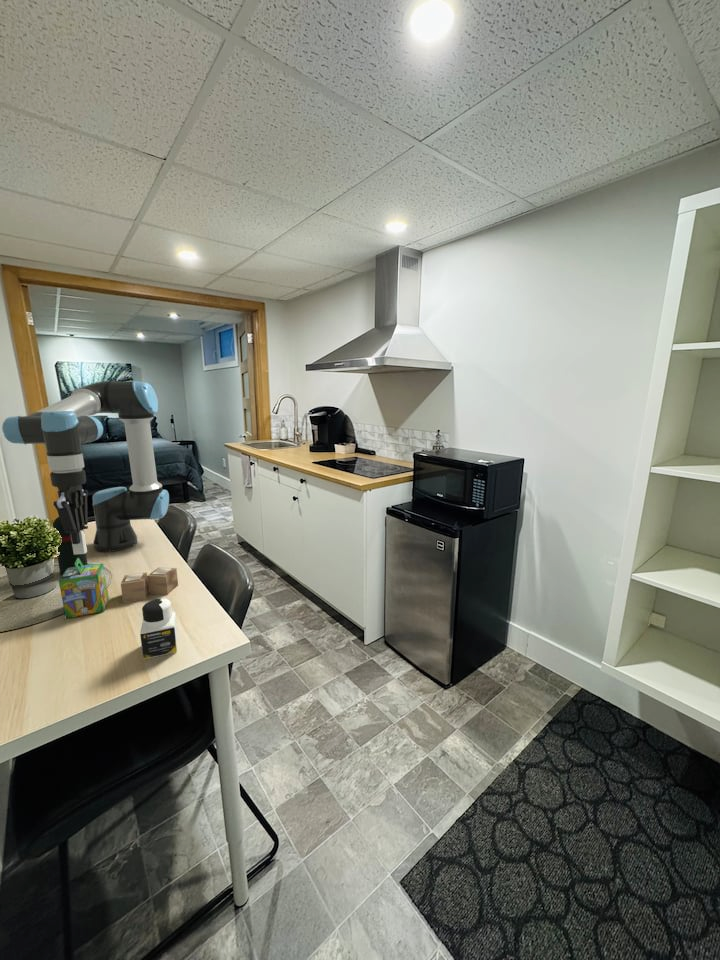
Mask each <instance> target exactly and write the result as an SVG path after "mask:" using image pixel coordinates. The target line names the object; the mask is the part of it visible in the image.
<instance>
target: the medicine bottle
mask: <svg viewBox="0 0 720 960" xmlns="http://www.w3.org/2000/svg"><path fill="white" fill-rule="evenodd" d="M141 611H142V622H141V627H140V631H139V632H140V633H139V635H140V643H141V652H142V653H141V654H142V659H143V660H145V661H146V660H149V659H154V658H158V657H162V656H167V655H171V654H176V653H177V652H178V639H179V637H178V626H177V617H176V615H177V614H176V611H172V602H171V600H170V599H168V598H155V599H152V600H149V601H147V602H146V603H145V604H143V606H142V609H141Z"/></svg>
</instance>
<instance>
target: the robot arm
mask: <svg viewBox="0 0 720 960" xmlns="http://www.w3.org/2000/svg"><path fill="white" fill-rule="evenodd" d="M158 411H159V401H158V397H157V394H156V392H155V389H154V388H153V387H152V385H151V384H150V383H148V382H146V381H136V380H135V381H129V380H128V381H126V380H125V381H122V380H121V381H117V380H116V381H115V380H114V381H113V380H112V381H111V380H109V381H108V380H105V381H103V380H102V381H98V382H94V383H91V384H87V385H84V386H82V387H80V388H77V389H76V390H73V391H72V392H71V393H70V396H68V397H66V398H64V399H63V398H62V399H61V400H59V401H57V402H55V403H52V404H49V405H48V406H46V407H43V408H42V409H39V410H37V411H36V412H32V413H31V414H28V415H25V416H21V415H17V416H9V417H6V418H5V420H4V421H3V422H2V428H1V429H2V433H3V436H4V438H5V439H6V440H7V441H8V442H10V443H12V444H19V445H20V444H21V445H28V444H29V445H30V444H31V445H36V444H37V445H38V444H40V445H41V444H44V445H45V450H46V451H45V452H46V457H47V458H46V461H47V464H48V470H50V474H49V477H50V482H51V483H50V484H51V486H52V487H54V488H57V489H58V488H59V490H58V491H59V493H58V492H57V495H58V496H59V497H58V500H55V501H53V506H54V508H55V509H56V511H57V513H58V517H60V520H61V523H62V526H63V529H64V532H65V533H70V534H71V540H72V546H73V553H74V555H75V554H85V553H86V554H87V552H88V548H87V542H86V536H85V530H88V529H89V526H87V525H88V523H89V521H88V519H89V518H88V515H89V513H88V495H89V490H87V489H83V486H82V485H85V484H86V483H87V477H86V476H87V475H86V470H85V469H84V468H85V461H84V454H83V451H82V445H84V444H88V443H90V444H91V443H92V442H95V441H97V440H99V439H100V438H101V437H102V435H103V433H104V426H103V424H102V422H101V421H100V420H99V419H98V418H96V417H95V415H97V414H117V416H118V420H119V421H121V422H122V423H124V430H125V432H124V433H125V437H126V445H127V452H128V458H129V459H128V460H129V465H130V473H131V479H132V481H131V482H132V485H130V486H129V490H128V489H127V487H125V486H117V487H109V488H105V489H102V490H98V491H96V492H95V493H93V495H92V507H93V513H94V521H95V527H96V531H95V535H94V538H93V544H92V545H93V549H94V550H95V551H97V552H106V553H107V552H108V553H109V552H115V551H121V550H126V549H128V548H130V547H133V546H135V545H136V544H137V543H138V536H137V534H136V531H135V530H134V528H133V526H132V525H131V521H136V520H139V521H140V520H158V519H162V518H164V517H165V515H166V514H167V512H168V510H169V509H168V508H169V504H170V494H169V491H168V490H167V489H163V484H162V483H160V482H159V481H158V475H157V468H156V461H155V460H156V459H155V452H154V444H153V437H152V430H151V422H152V420H153V419H154V415H155V414H156V413H158ZM134 544H135V545H134Z"/></svg>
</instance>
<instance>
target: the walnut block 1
mask: <svg viewBox="0 0 720 960" xmlns="http://www.w3.org/2000/svg"><path fill="white" fill-rule="evenodd" d="M147 576H148V572H139V573H134V574H133V573H131V574H126V575H124V576H123V578H122V580H121V582H120V588H121V589H120V590H121V591H120V592H121V599H122V603H129V602H135V601H141V600H142V601H143V600H147V596H148V594H149V588H148V580H147Z"/></svg>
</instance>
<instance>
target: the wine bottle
mask: <svg viewBox="0 0 720 960" xmlns="http://www.w3.org/2000/svg"><path fill="white" fill-rule="evenodd" d="M58 493H59V488H57V494H58ZM58 498H59V496H58ZM53 527H54V528H56V529H57V530H58V531H59V533H60V535H61V537H62V543H61V545H60V546H59V547H58V552H60V555H59V556H57V555H56V556H57V561H58V562H57V563H58V570H59V575H60V577H61V576H62V575H63V574H64V572H65V571H66V569H67V568H72V567H75V564H74V563H75V561H76V560H77V558H79V559H80V561H81V562H82V564H83V565H89V564H88V560H87V559H88V558H87V552H86V553H85V554H75V555H74V553H73V546H72V540H71V534H70V533H65V532H64V529H63V526H62V523H61V520H60V517H59V516H58V517H56V518H55V520H54V521H53V522H52V528H53ZM79 566H80V564H79V563H78V567H79Z"/></svg>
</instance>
